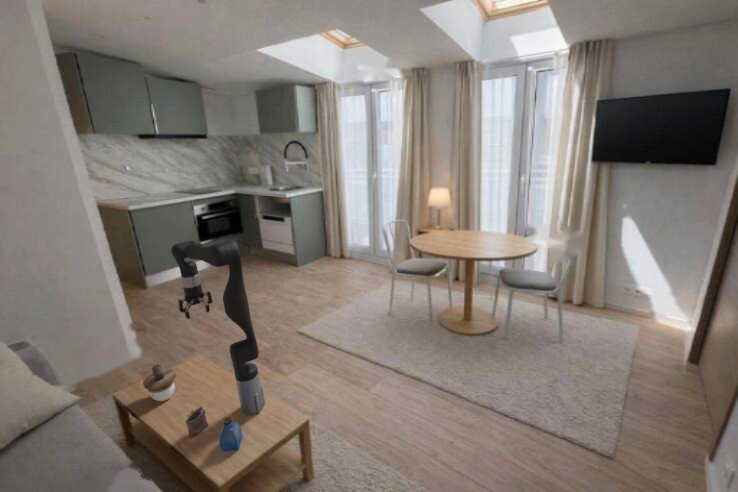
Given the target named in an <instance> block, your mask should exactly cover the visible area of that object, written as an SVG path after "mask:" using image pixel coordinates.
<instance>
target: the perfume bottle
mask: <svg viewBox="0 0 738 492" xmlns="http://www.w3.org/2000/svg"><path fill="white" fill-rule="evenodd" d="M222 422H223V428H222V431H221V433H220V436H219V438H218V440H219V445H220V449H221V452H222V453H224V452H225V453H227V452H236V451H239V450H240V447H241V444H242V440H243V432H242V427H241V424H239V423H237V422H235V421H233V417H232V416H227V417H225V418H224V419H223V420H222Z"/></svg>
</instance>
